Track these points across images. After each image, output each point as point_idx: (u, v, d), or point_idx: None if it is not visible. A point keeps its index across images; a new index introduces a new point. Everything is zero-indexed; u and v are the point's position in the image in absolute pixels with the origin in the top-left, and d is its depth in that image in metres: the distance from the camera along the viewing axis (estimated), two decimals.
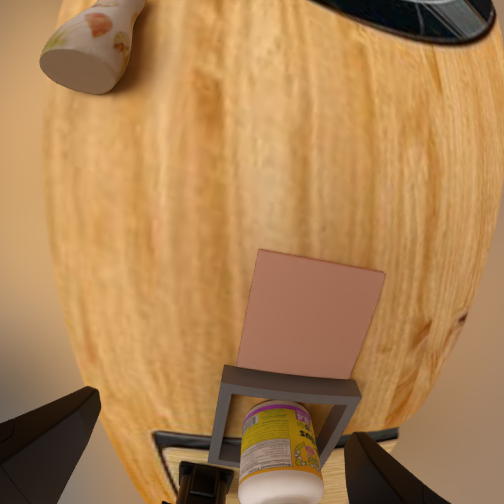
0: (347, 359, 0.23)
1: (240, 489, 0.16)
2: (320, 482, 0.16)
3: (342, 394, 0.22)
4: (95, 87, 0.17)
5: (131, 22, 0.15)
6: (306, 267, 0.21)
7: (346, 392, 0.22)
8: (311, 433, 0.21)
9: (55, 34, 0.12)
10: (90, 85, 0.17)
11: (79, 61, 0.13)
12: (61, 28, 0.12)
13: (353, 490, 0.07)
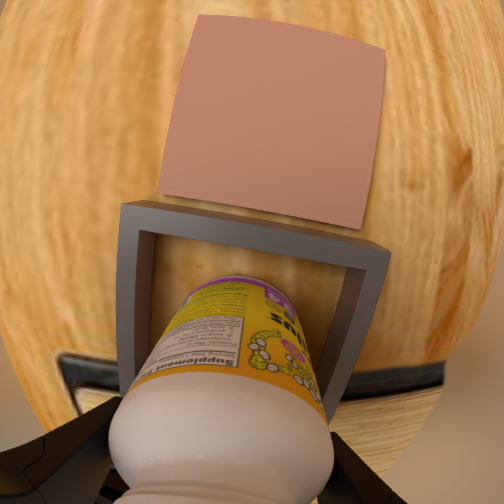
0: (354, 184, 0.13)
1: (109, 429, 0.07)
2: (323, 428, 0.06)
3: (354, 243, 0.12)
4: None
5: None
6: (264, 28, 0.12)
7: (361, 244, 0.13)
8: (298, 330, 0.12)
9: None
10: None
11: None
12: None
13: (321, 492, 0.07)
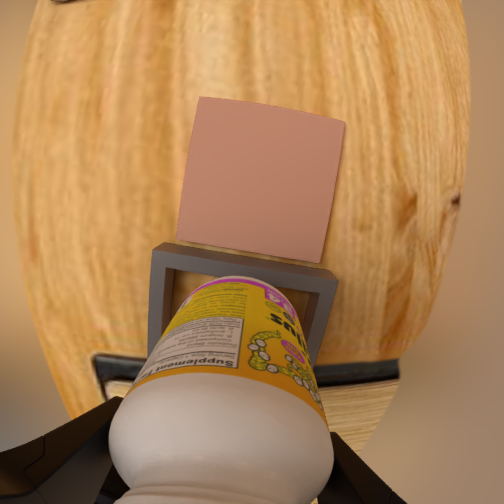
0: (314, 231, 0.20)
1: None
2: (323, 429, 0.06)
3: (311, 275, 0.19)
4: None
5: None
6: (250, 110, 0.18)
7: (316, 275, 0.19)
8: (298, 330, 0.12)
9: None
10: None
11: None
12: None
13: (322, 492, 0.07)
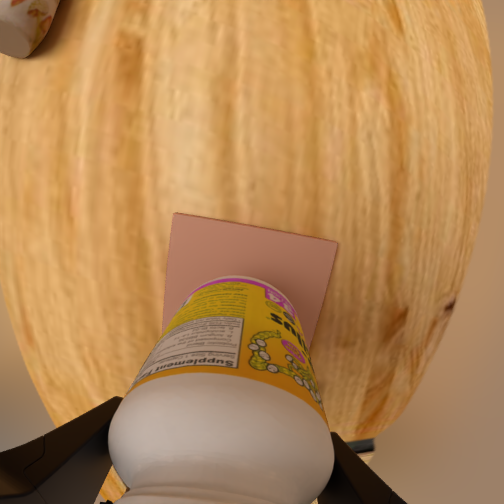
0: None
1: (109, 430, 0.06)
2: (323, 429, 0.06)
3: None
4: (19, 51, 0.13)
5: None
6: (230, 233, 0.17)
7: None
8: (298, 330, 0.12)
9: None
10: (15, 49, 0.13)
11: (1, 27, 0.09)
12: None
13: (321, 492, 0.07)
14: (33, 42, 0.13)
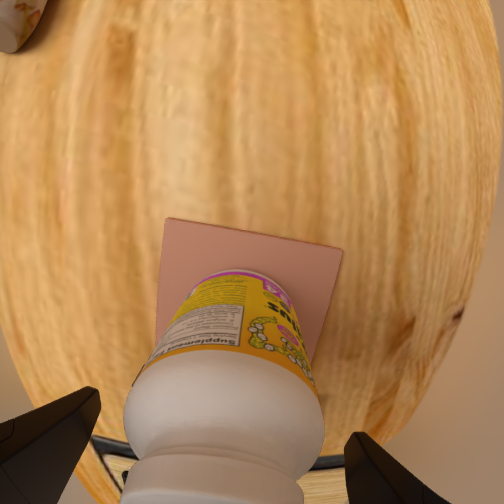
0: None
1: (124, 407, 0.08)
2: (314, 401, 0.08)
3: None
4: (7, 46, 0.12)
5: None
6: (227, 240, 0.16)
7: None
8: (293, 318, 0.13)
9: None
10: (4, 44, 0.11)
11: None
12: None
13: (353, 490, 0.07)
14: (20, 37, 0.11)
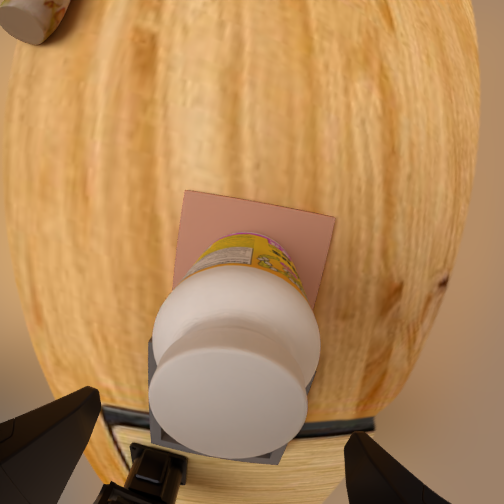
0: None
1: None
2: (310, 309, 0.10)
3: None
4: (33, 38, 0.14)
5: None
6: (237, 208, 0.19)
7: None
8: (293, 266, 0.16)
9: None
10: (30, 36, 0.14)
11: (19, 15, 0.11)
12: None
13: (353, 490, 0.07)
14: (47, 31, 0.14)
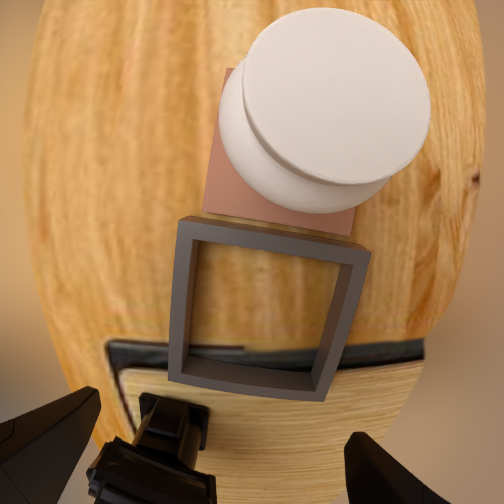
0: None
1: (224, 87, 0.09)
2: None
3: (344, 246, 0.18)
4: None
5: None
6: None
7: (349, 246, 0.18)
8: None
9: None
10: None
11: None
12: None
13: (353, 490, 0.07)
14: None
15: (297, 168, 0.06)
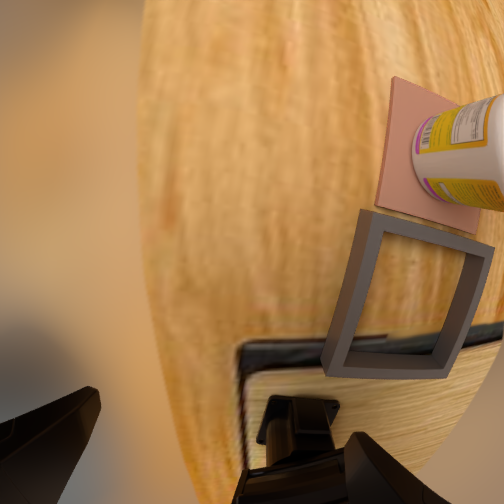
0: (474, 208, 0.19)
1: (496, 117, 0.09)
2: None
3: None
4: None
5: None
6: (434, 99, 0.17)
7: None
8: None
9: None
10: None
11: None
12: None
13: (353, 490, 0.07)
14: None
15: None
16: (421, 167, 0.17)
